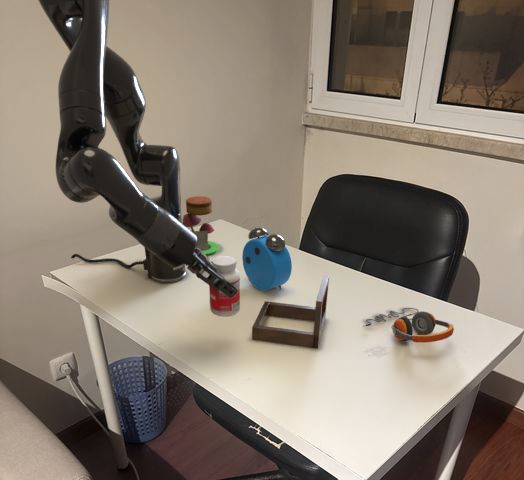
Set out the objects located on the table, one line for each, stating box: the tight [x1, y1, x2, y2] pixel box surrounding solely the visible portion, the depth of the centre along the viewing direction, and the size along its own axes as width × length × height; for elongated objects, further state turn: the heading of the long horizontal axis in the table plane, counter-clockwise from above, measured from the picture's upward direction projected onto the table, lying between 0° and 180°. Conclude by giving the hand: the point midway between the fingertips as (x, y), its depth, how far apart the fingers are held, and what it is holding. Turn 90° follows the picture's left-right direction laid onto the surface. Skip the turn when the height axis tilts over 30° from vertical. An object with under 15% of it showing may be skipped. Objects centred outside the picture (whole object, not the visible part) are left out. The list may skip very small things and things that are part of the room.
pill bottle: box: [208, 255, 241, 318], centre depth 100 cm, size 6×6×11 cm
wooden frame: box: [251, 275, 330, 349], centre depth 110 cm, size 14×12×11 cm
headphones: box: [362, 307, 455, 343], centre depth 111 cm, size 17×5×20 cm
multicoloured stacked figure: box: [182, 195, 220, 256], centre depth 148 cm, size 12×13×15 cm
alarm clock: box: [241, 226, 293, 292], centre depth 127 cm, size 13×6×15 cm, turn 39°
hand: (228, 286), depth 101 cm, fingers closed on pill bottle, 6 cm apart
